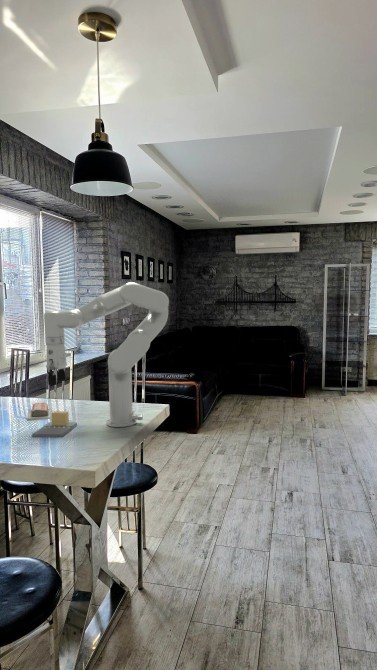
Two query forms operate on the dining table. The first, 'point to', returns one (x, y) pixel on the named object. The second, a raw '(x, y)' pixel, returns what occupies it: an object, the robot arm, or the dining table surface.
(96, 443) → the dining table surface
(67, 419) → the yellow block
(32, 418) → the packaged product
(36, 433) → the ticket board
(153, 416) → the dining table surface
